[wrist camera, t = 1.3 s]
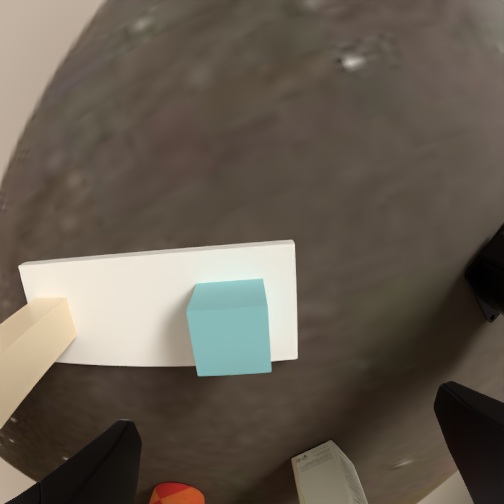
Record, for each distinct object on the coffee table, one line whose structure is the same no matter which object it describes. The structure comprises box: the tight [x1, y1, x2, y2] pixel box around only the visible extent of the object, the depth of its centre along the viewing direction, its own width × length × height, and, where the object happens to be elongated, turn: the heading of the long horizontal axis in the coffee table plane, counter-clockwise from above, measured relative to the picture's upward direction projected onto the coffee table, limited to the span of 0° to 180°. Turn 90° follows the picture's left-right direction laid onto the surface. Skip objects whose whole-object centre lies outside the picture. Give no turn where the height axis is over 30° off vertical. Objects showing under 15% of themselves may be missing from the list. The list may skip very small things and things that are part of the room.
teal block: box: [186, 278, 272, 376], centre depth 18 cm, size 4×4×4 cm
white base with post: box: [0, 240, 298, 429], centre depth 14 cm, size 20×8×15 cm, turn 94°
